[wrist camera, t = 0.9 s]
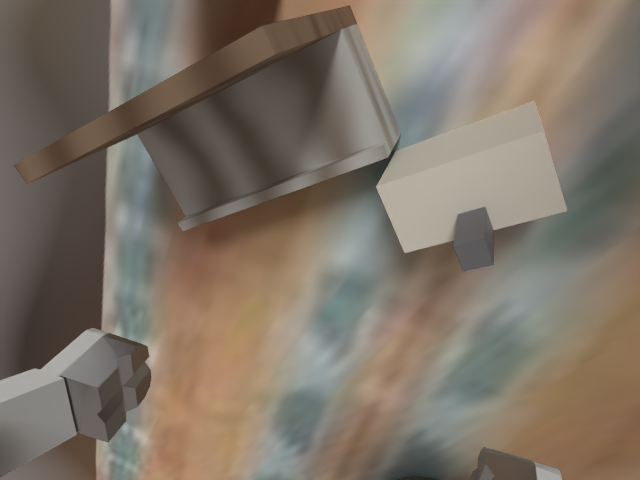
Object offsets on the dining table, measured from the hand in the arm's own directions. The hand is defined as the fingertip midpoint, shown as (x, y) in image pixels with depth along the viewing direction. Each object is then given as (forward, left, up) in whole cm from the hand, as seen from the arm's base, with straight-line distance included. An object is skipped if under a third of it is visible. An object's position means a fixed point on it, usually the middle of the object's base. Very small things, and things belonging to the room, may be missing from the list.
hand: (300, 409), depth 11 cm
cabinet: (-1, +6, -35) cm, 36 cm away
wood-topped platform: (+15, -4, -35) cm, 39 cm away
